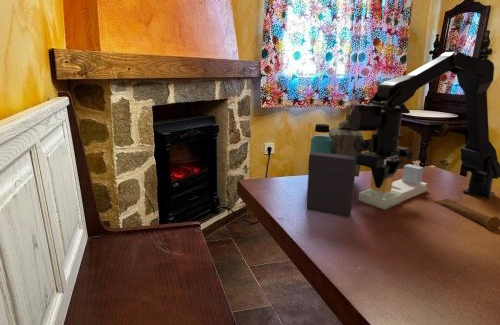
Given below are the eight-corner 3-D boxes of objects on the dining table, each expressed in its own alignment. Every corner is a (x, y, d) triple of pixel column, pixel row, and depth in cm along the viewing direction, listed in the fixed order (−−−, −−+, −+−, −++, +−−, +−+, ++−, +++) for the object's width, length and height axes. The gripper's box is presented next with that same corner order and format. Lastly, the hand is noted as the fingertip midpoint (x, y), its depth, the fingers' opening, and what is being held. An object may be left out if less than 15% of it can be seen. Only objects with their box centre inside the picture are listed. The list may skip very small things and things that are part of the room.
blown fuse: (375, 194, 100) (378, 169, 99) (390, 198, 97) (393, 173, 95) (369, 196, 99) (372, 171, 97) (384, 201, 95) (387, 175, 93)
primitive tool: (431, 202, 100) (433, 190, 99) (449, 201, 101) (451, 189, 100) (487, 232, 82) (490, 218, 81) (507, 231, 83) (511, 217, 82)
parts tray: (374, 194, 104) (375, 186, 103) (400, 203, 98) (401, 194, 97) (358, 200, 99) (359, 192, 98) (384, 209, 93) (385, 200, 92)
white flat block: (404, 185, 113) (405, 177, 112) (426, 191, 108) (427, 183, 107) (378, 194, 104) (379, 186, 103) (400, 201, 99) (401, 193, 98)
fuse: (405, 186, 111) (408, 164, 109) (419, 190, 108) (423, 167, 106) (400, 188, 109) (403, 165, 107) (415, 192, 106) (418, 169, 104)
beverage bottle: (332, 188, 108) (337, 123, 103) (324, 194, 103) (329, 126, 98) (312, 184, 112) (316, 121, 106) (303, 190, 106) (307, 124, 101)
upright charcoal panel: (351, 212, 90) (357, 155, 87) (348, 218, 87) (354, 159, 83) (309, 205, 95) (313, 150, 91) (305, 210, 91) (308, 154, 87)
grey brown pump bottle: (357, 191, 106) (366, 107, 100) (327, 189, 108) (333, 106, 101) (352, 177, 120) (359, 103, 114) (325, 175, 122) (331, 102, 115)
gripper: (380, 123, 105) (374, 173, 109) (340, 129, 93) (336, 185, 97) (416, 128, 96) (409, 183, 100) (378, 135, 85) (371, 196, 89)
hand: (381, 186), depth 97 cm, fingers closed on blown fuse, 3 cm apart
